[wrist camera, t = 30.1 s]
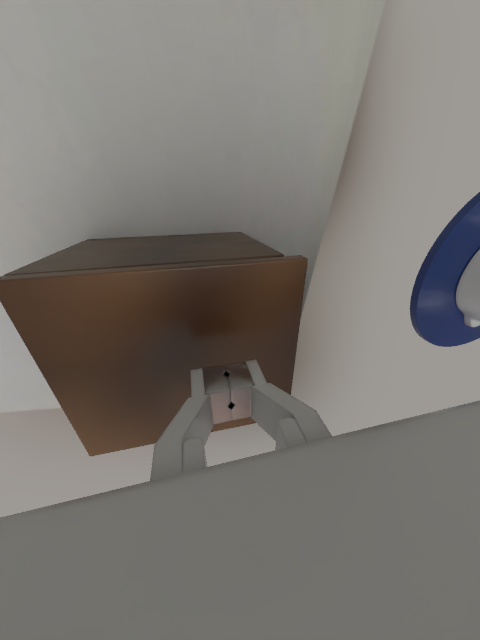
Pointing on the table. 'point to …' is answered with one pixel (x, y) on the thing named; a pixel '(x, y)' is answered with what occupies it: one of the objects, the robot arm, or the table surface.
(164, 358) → the lid
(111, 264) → the brown wooden box
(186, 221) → the table surface
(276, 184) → the table surface
